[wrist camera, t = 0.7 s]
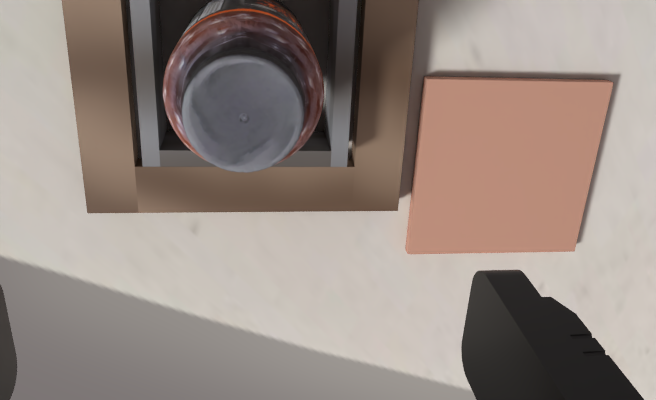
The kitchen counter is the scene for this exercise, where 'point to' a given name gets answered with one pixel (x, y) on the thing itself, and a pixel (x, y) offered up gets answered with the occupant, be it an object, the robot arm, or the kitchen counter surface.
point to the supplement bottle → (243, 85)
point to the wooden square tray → (203, 177)
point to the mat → (504, 163)
